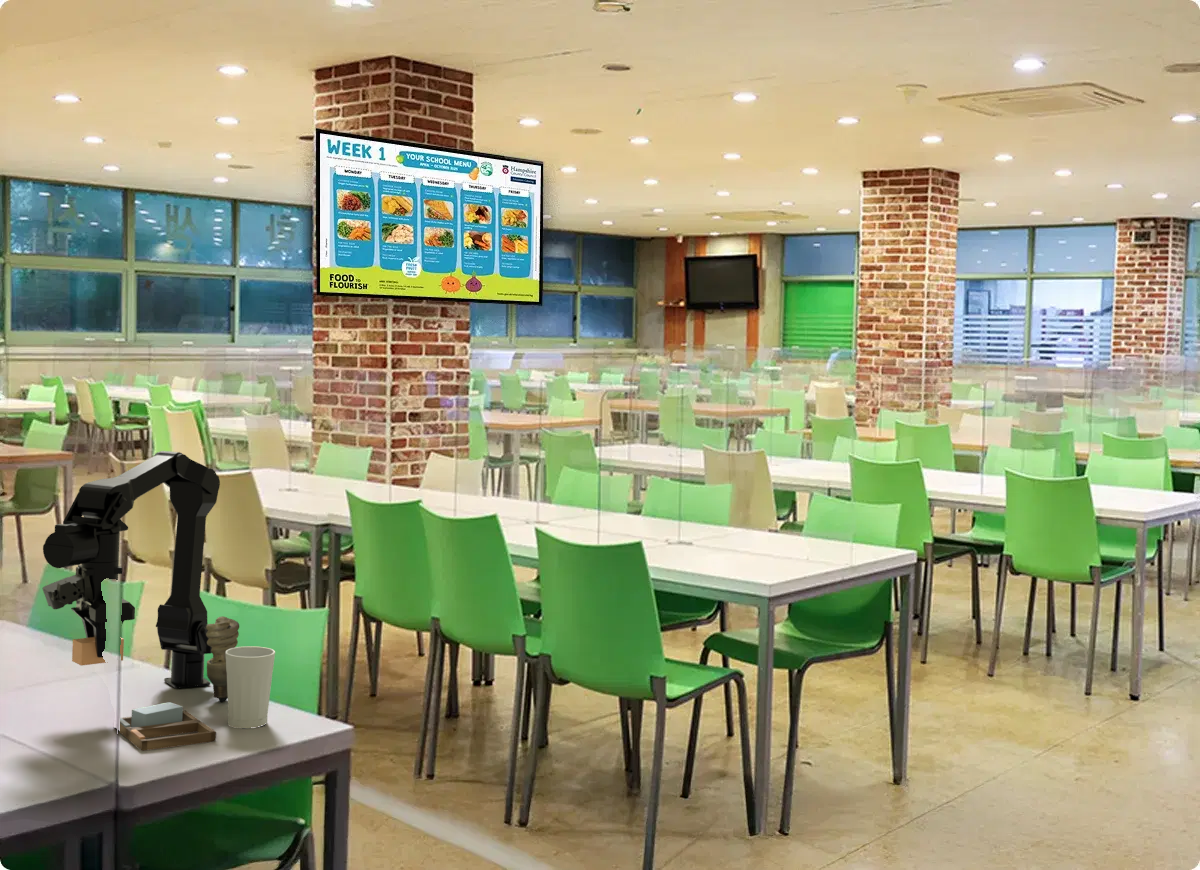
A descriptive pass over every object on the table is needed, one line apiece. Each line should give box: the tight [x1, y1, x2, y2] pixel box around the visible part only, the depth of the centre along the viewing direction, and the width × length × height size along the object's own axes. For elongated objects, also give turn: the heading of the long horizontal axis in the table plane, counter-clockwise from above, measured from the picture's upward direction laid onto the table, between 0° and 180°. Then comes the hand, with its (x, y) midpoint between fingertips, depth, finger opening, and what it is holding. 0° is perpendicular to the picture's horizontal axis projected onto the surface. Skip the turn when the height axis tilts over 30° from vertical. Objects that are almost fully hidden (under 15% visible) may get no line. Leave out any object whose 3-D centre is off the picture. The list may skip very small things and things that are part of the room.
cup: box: [225, 645, 276, 729], centre depth 222 cm, size 8×8×12 cm
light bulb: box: [206, 616, 240, 703], centre depth 235 cm, size 6×6×15 cm
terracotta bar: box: [71, 637, 125, 666], centre depth 221 cm, size 4×7×4 cm, turn 134°
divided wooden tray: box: [119, 710, 217, 752], centre depth 214 cm, size 14×12×2 cm
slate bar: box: [131, 701, 184, 728], centre depth 217 cm, size 4×7×4 cm, turn 143°
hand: (97, 654), depth 221 cm, fingers closed on terracotta bar, 4 cm apart
